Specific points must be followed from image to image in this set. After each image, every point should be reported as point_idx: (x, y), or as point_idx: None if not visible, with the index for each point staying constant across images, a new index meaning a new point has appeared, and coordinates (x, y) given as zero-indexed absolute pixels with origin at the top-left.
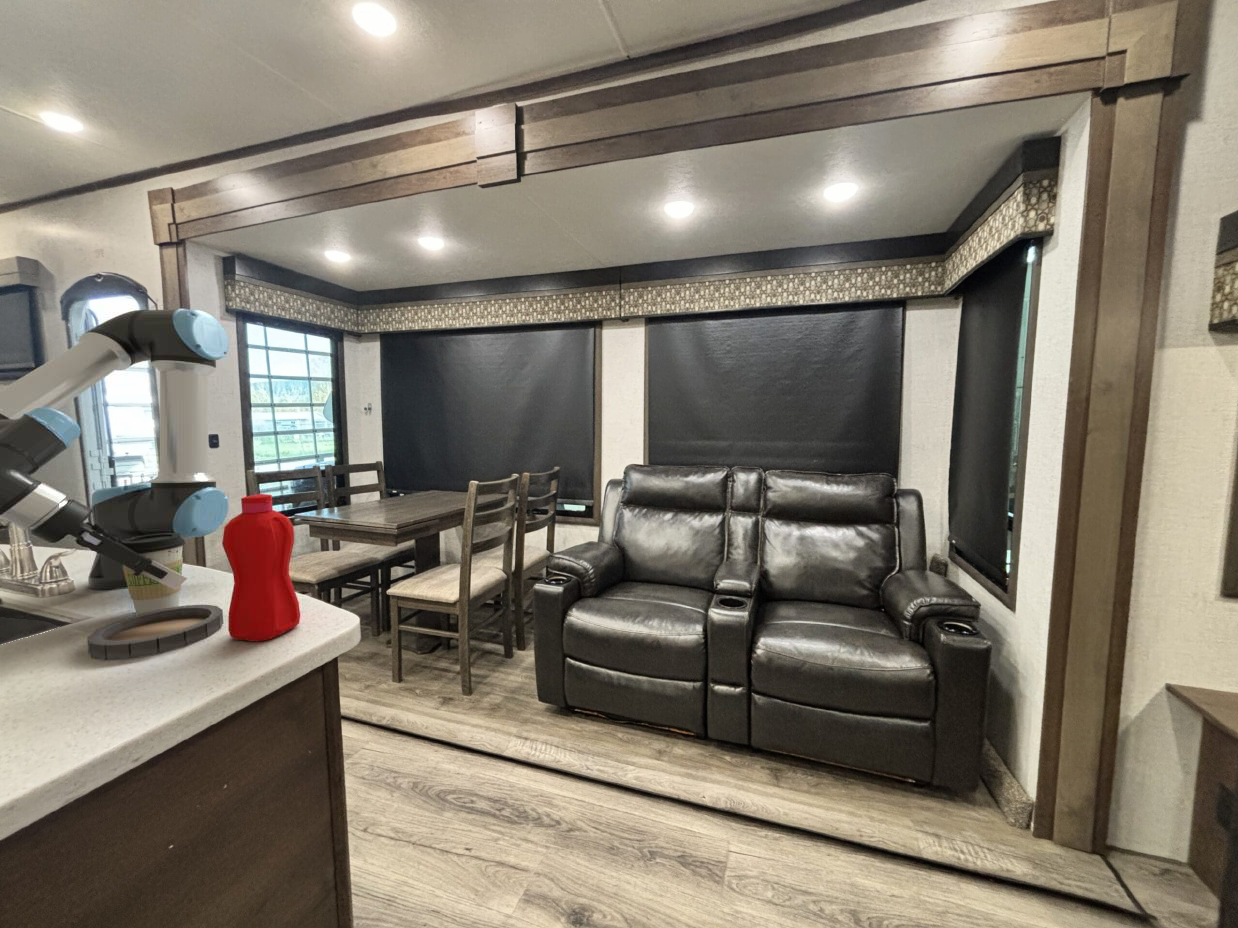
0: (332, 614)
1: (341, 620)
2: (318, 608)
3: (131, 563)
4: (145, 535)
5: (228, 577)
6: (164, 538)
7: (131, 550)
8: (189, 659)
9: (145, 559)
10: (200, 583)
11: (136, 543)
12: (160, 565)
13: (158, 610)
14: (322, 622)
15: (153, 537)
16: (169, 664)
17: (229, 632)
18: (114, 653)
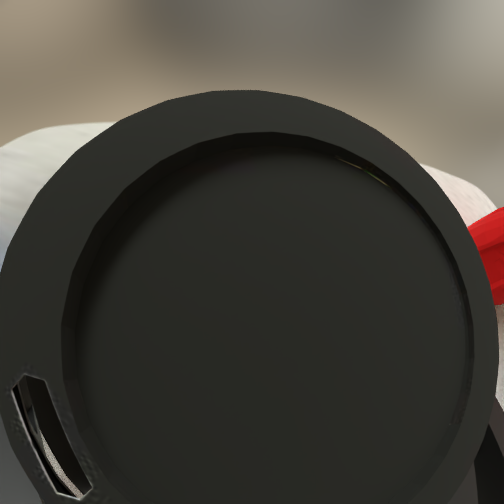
0: (464, 186)
1: (482, 197)
2: (438, 176)
3: (478, 452)
4: (5, 316)
5: (44, 133)
6: (384, 236)
7: (472, 473)
8: (499, 359)
9: (495, 402)
10: (21, 188)
11: (471, 462)
12: None
13: None
14: (480, 210)
15: (92, 260)
16: (497, 380)
17: (495, 304)
18: None
